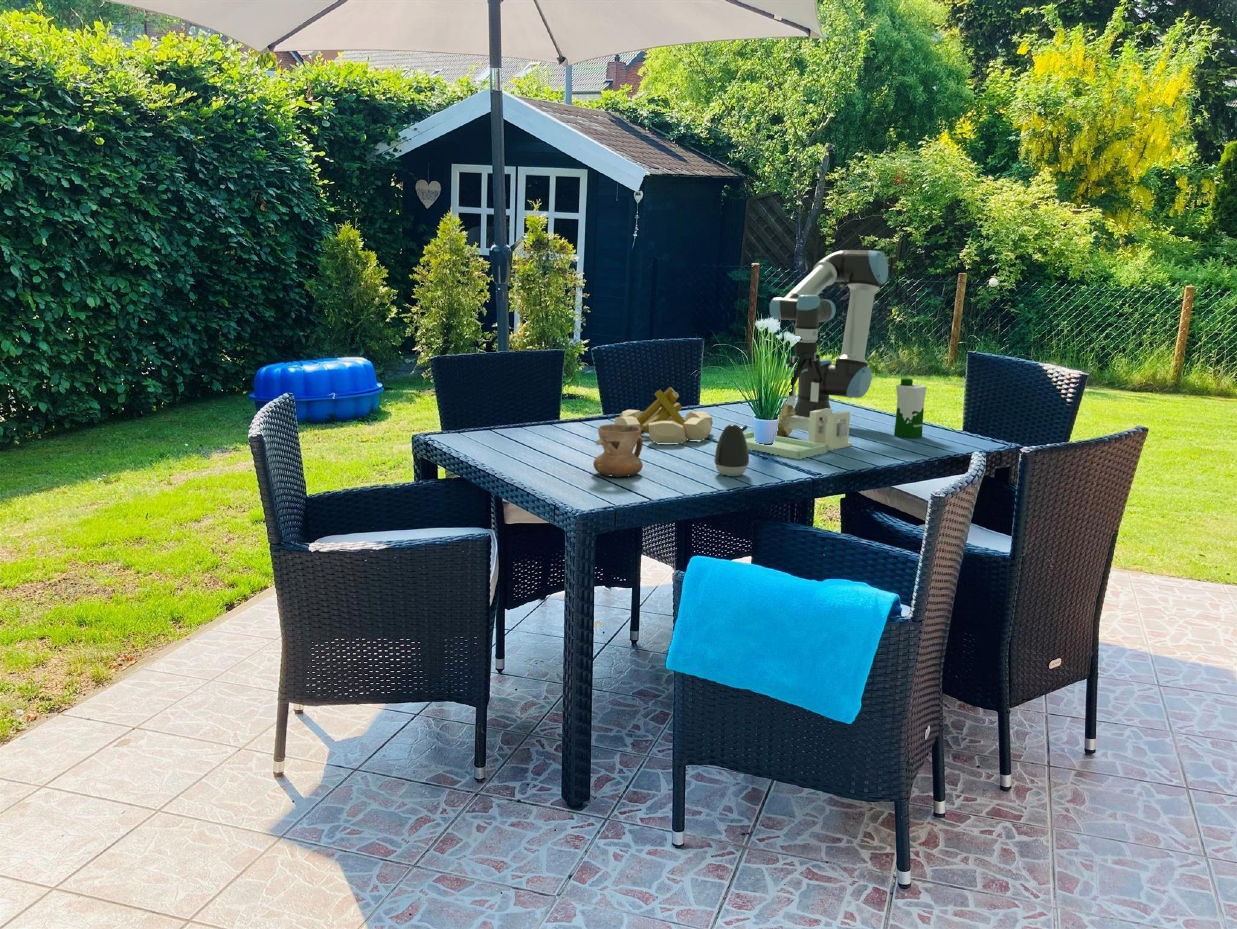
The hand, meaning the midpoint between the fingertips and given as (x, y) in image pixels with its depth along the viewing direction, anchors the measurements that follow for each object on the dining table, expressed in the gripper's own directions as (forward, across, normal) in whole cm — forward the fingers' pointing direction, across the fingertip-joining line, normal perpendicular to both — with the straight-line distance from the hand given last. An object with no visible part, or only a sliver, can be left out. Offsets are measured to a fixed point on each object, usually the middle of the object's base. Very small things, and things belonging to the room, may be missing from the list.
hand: (802, 403), depth 368 cm
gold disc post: (+13, 0, -3) cm, 13 cm away
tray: (+13, -18, -2) cm, 22 cm away
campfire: (+14, -28, +38) cm, 49 cm away
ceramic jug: (+14, -82, +7) cm, 83 cm away
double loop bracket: (+13, 0, -11) cm, 17 cm away
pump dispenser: (+14, -58, -16) cm, 61 cm away
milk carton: (+13, +36, -21) cm, 43 cm away
